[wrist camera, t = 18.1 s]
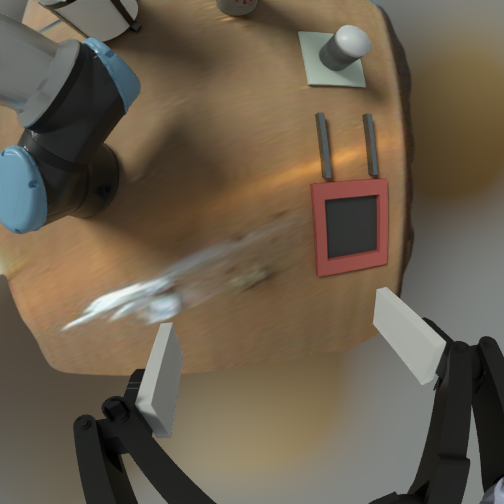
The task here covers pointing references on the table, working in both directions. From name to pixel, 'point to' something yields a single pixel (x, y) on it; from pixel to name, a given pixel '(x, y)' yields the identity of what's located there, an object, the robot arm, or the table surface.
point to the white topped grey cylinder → (344, 48)
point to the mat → (318, 71)
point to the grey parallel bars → (325, 151)
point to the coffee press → (96, 16)
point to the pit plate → (350, 225)
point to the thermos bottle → (236, 6)
